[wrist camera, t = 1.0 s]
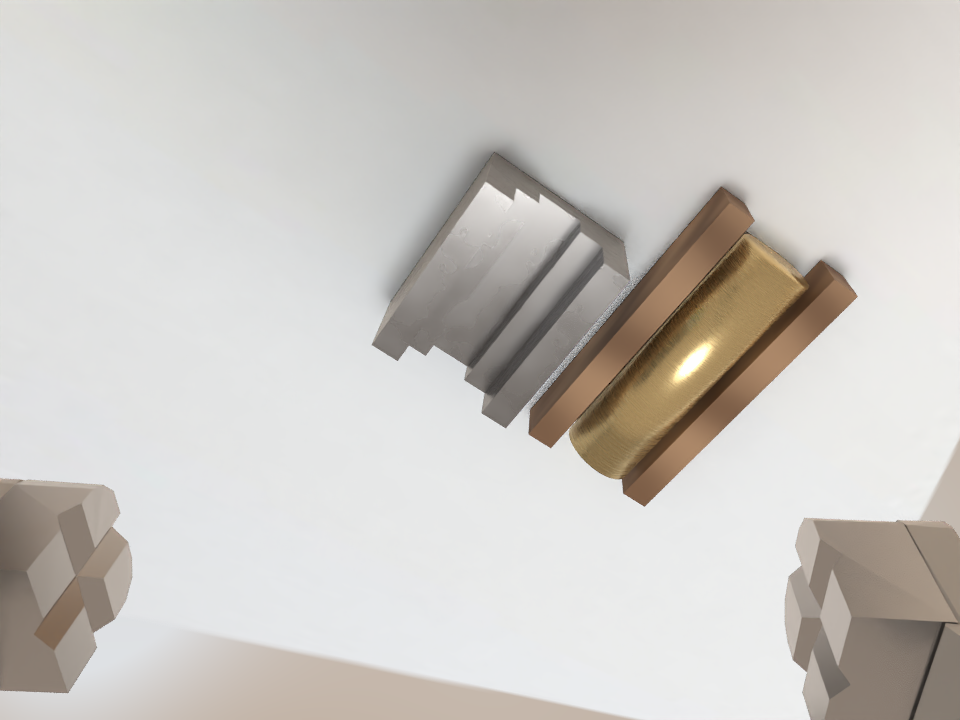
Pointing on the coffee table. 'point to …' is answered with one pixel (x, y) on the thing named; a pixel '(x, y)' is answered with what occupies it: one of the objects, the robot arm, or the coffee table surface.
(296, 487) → the coffee table surface
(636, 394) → the brass rod
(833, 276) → the copper channel
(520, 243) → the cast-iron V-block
